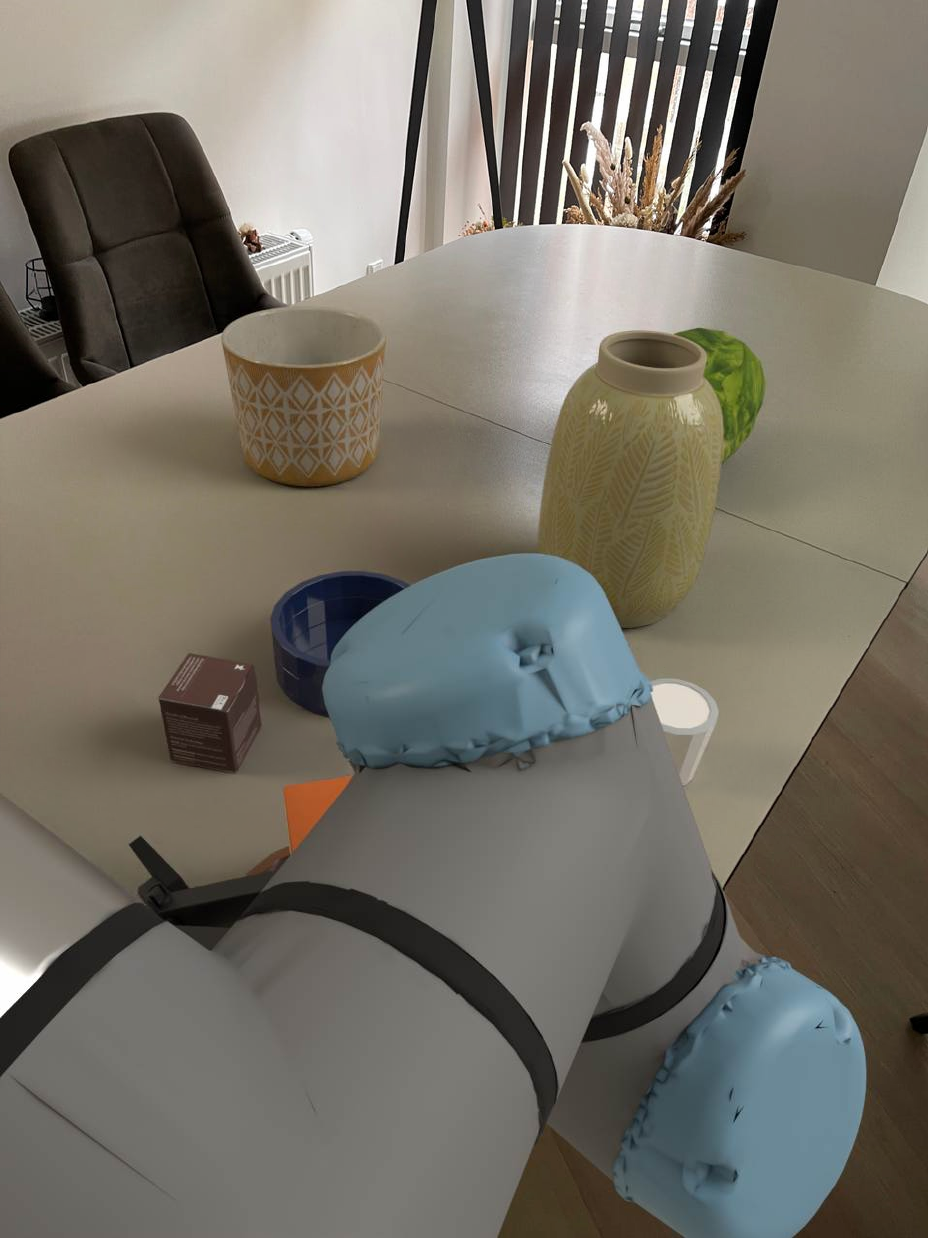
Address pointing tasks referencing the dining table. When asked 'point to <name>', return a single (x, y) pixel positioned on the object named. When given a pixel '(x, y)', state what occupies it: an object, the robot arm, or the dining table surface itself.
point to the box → (211, 712)
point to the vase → (636, 473)
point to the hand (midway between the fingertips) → (250, 779)
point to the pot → (321, 627)
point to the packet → (308, 806)
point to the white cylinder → (685, 721)
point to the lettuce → (731, 383)
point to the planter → (306, 392)
